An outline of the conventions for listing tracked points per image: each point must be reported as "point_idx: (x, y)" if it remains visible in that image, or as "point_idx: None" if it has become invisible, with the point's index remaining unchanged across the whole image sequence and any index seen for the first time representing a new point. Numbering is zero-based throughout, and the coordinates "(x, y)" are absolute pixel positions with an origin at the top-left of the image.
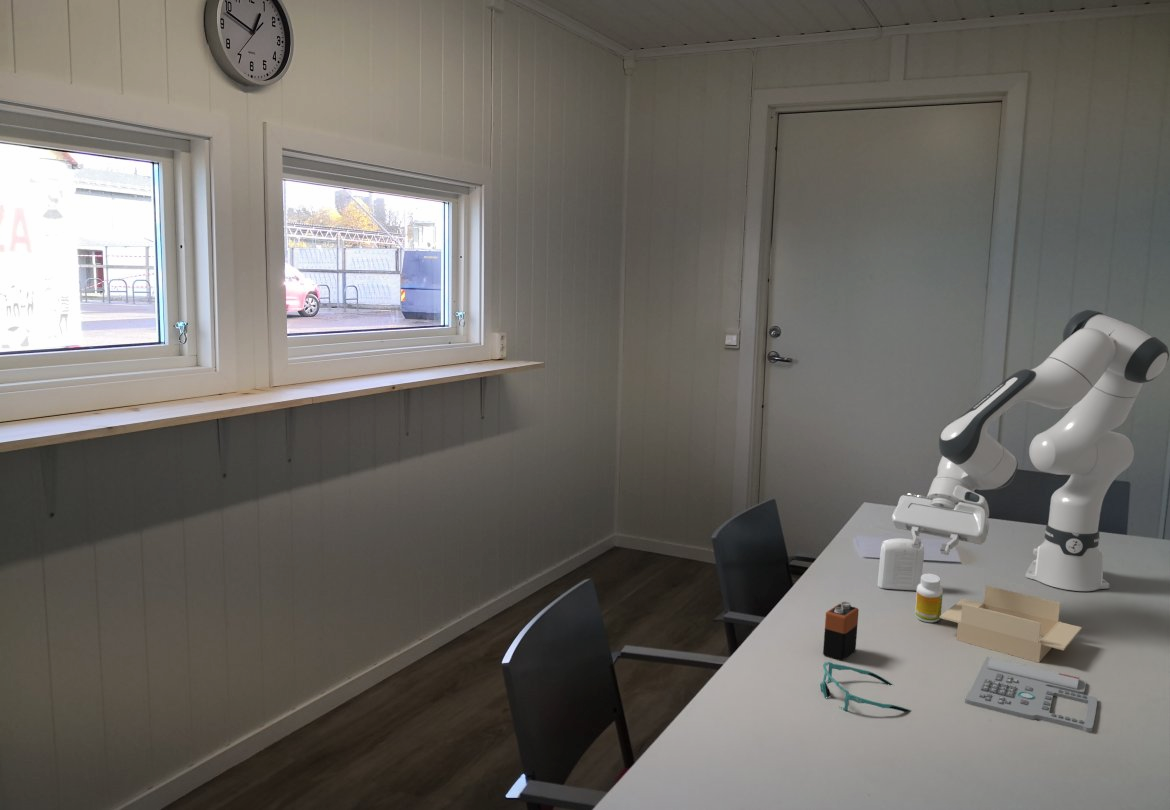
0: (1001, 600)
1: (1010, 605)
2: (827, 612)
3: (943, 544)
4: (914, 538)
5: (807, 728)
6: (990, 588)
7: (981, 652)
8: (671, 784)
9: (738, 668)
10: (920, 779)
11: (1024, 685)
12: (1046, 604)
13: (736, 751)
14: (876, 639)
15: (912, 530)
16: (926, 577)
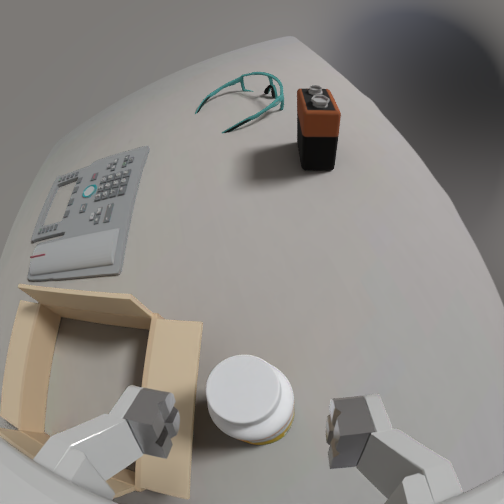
0: None
1: None
2: (327, 89)
3: (144, 417)
4: (383, 424)
5: None
6: None
7: None
8: (281, 41)
9: (357, 95)
10: (177, 78)
11: (85, 214)
12: (13, 438)
13: (275, 53)
14: (301, 226)
15: (439, 464)
16: (257, 383)
